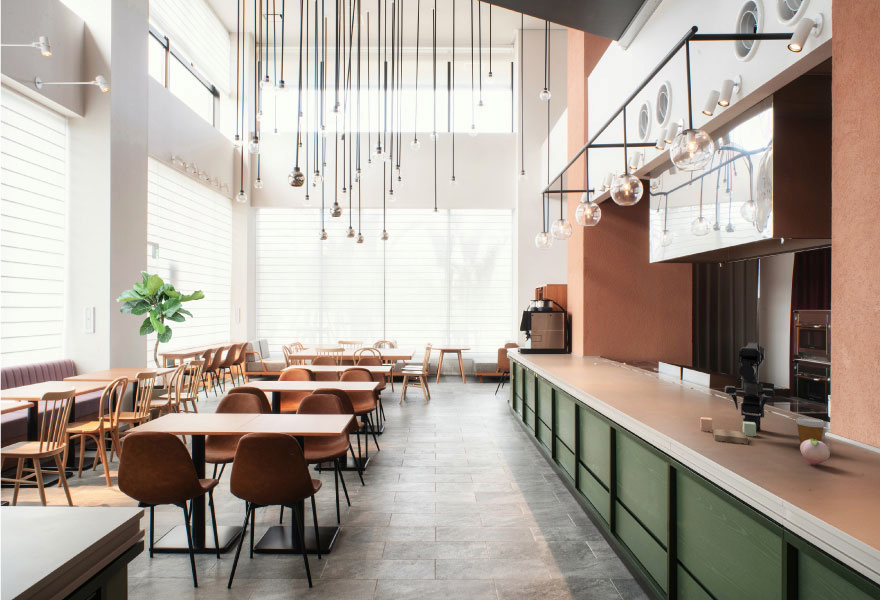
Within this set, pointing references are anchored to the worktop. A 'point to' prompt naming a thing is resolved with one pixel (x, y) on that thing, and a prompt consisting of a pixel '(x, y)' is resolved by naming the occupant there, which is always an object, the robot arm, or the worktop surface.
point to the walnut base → (730, 436)
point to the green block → (749, 428)
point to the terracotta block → (706, 424)
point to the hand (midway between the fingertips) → (749, 410)
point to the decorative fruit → (814, 451)
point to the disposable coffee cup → (810, 428)
